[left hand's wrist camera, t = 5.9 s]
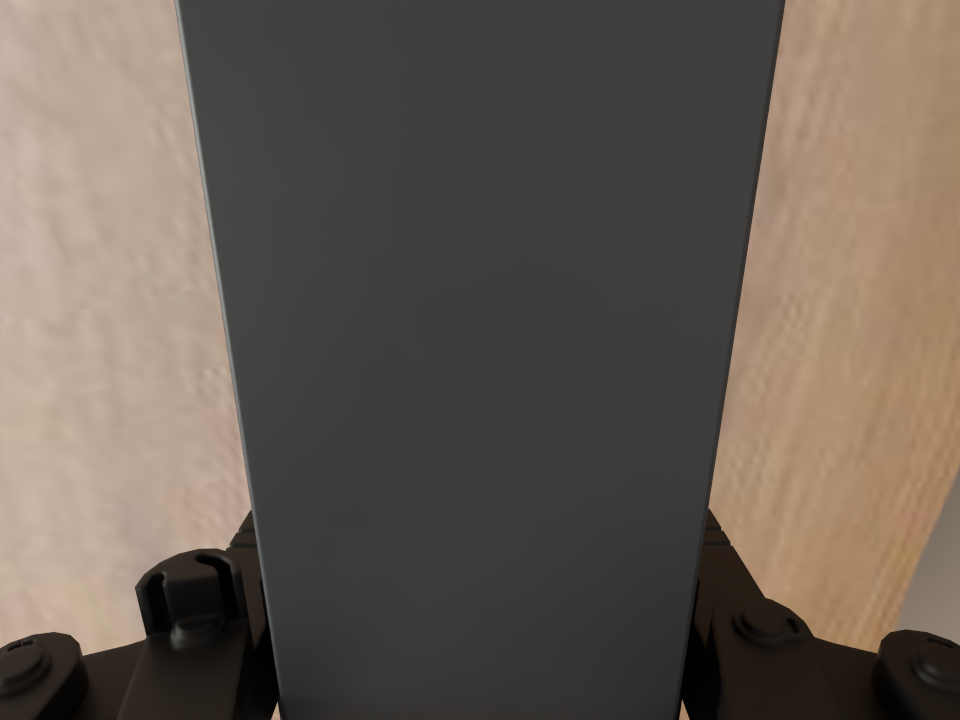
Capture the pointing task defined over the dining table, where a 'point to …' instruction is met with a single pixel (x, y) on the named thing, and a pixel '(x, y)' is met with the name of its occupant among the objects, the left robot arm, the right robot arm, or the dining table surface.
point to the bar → (479, 333)
